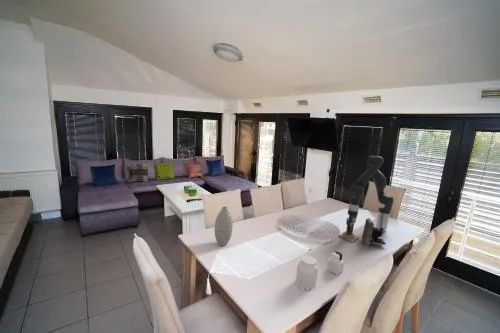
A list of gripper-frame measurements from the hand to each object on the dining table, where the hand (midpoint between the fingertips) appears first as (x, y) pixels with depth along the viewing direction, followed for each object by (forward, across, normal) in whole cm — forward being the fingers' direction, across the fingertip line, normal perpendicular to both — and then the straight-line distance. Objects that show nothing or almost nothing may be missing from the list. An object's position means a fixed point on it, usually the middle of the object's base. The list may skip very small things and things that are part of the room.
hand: (350, 228), depth 193 cm
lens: (+3, 0, 0) cm, 3 cm away
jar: (+9, +78, +12) cm, 79 cm away
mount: (+8, 0, 0) cm, 8 cm away
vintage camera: (+8, -7, +17) cm, 20 cm away
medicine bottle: (+8, +52, +16) cm, 55 cm away
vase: (+9, +93, -50) cm, 106 cm away
